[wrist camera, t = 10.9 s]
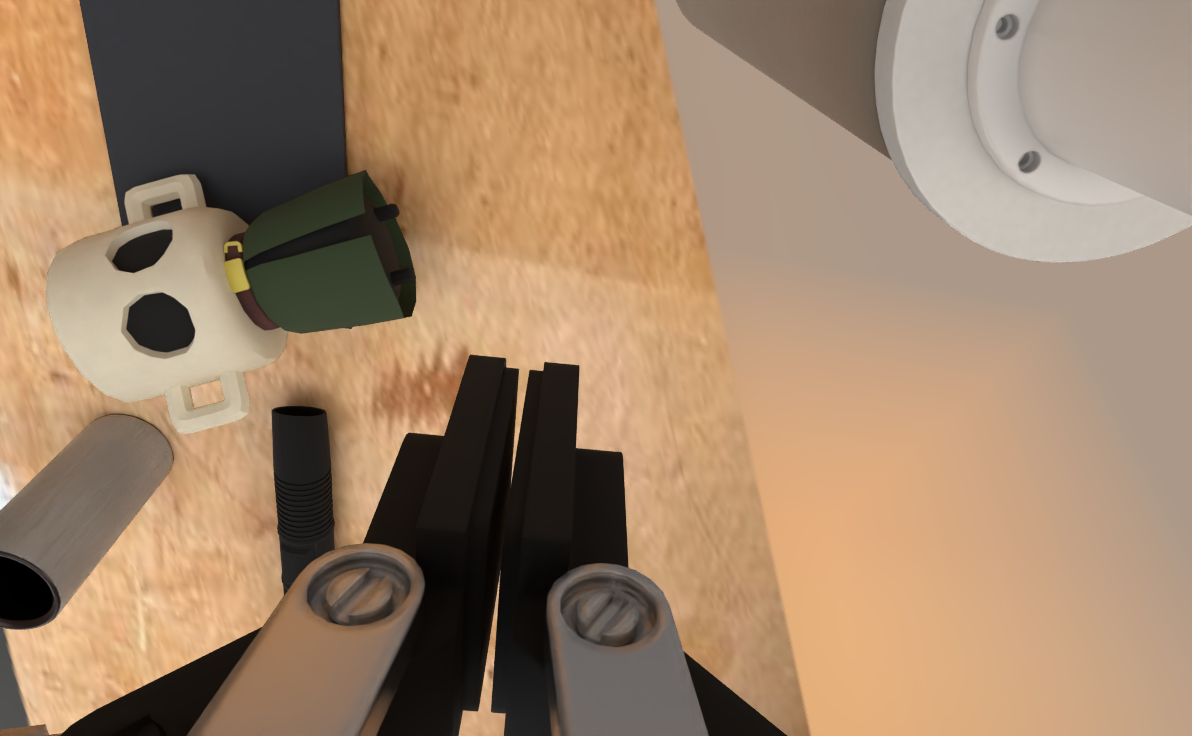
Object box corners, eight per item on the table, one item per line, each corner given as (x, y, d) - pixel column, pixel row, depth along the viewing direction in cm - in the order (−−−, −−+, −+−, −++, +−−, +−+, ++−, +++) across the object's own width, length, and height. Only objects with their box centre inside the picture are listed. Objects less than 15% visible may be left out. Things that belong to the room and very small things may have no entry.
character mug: (414, 355, 28) (73, 449, 28) (456, 373, 35) (183, 448, 35) (346, 81, 29) (18, 172, 29) (400, 152, 36) (136, 225, 36)
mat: (336, -74, 29) (333, -74, 29) (353, 325, 38) (351, 329, 37) (64, -108, 29) (58, -109, 28) (141, 306, 37) (137, 309, 36)
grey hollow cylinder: (183, 433, 40) (68, 573, 31) (163, 495, 42) (50, 644, 33) (92, 400, 39) (-53, 535, 30) (77, 465, 41) (-64, 610, 32)
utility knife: (346, 677, 49) (333, 718, 47) (282, 673, 49) (266, 714, 46) (336, 390, 39) (319, 422, 37) (256, 382, 39) (233, 414, 36)
